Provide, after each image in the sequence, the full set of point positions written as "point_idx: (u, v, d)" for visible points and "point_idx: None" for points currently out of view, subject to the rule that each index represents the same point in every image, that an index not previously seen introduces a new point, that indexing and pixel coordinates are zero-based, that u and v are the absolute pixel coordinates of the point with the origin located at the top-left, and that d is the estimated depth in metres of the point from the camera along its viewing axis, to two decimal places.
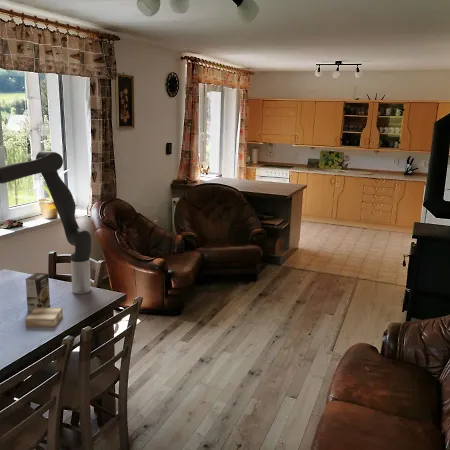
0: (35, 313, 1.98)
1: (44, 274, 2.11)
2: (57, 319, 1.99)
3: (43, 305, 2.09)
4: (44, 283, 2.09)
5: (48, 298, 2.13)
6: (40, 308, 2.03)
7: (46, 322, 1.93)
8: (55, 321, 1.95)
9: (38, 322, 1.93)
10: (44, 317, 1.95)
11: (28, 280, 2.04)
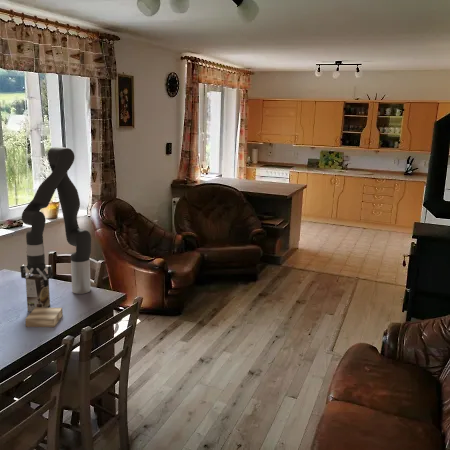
0: (35, 313, 1.98)
1: None
2: (57, 319, 1.99)
3: (43, 305, 2.09)
4: None
5: (48, 298, 2.13)
6: (40, 308, 2.03)
7: (46, 321, 1.93)
8: (55, 321, 1.95)
9: (38, 322, 1.93)
10: (45, 317, 1.95)
11: (28, 280, 2.04)
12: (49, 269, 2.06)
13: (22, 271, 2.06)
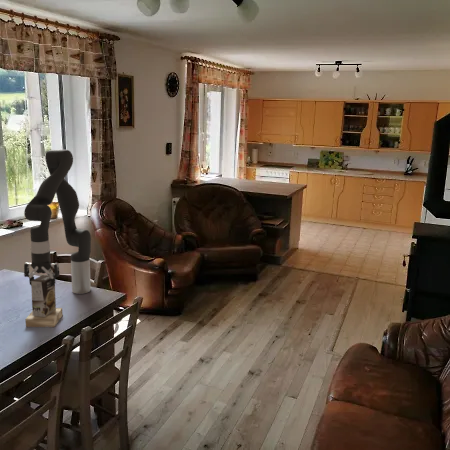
0: None
1: None
2: (57, 320, 1.99)
3: (49, 309, 1.97)
4: (50, 286, 1.96)
5: (54, 302, 2.01)
6: None
7: (46, 322, 1.93)
8: (55, 322, 1.95)
9: (38, 322, 1.93)
10: (44, 317, 1.95)
11: (34, 282, 1.92)
12: (55, 267, 1.93)
13: (26, 269, 1.92)
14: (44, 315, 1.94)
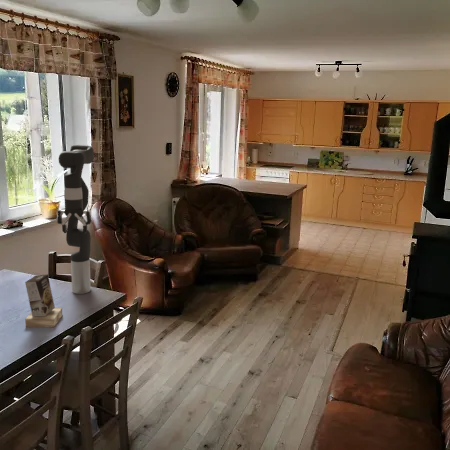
0: None
1: (43, 275, 1.98)
2: (57, 319, 1.99)
3: (48, 308, 1.97)
4: (45, 284, 1.96)
5: (52, 300, 2.01)
6: None
7: (46, 322, 1.93)
8: (55, 321, 1.95)
9: (38, 322, 1.93)
10: (44, 317, 1.95)
11: (28, 283, 1.91)
12: (87, 214, 1.98)
13: (59, 216, 1.97)
14: (44, 314, 1.94)
